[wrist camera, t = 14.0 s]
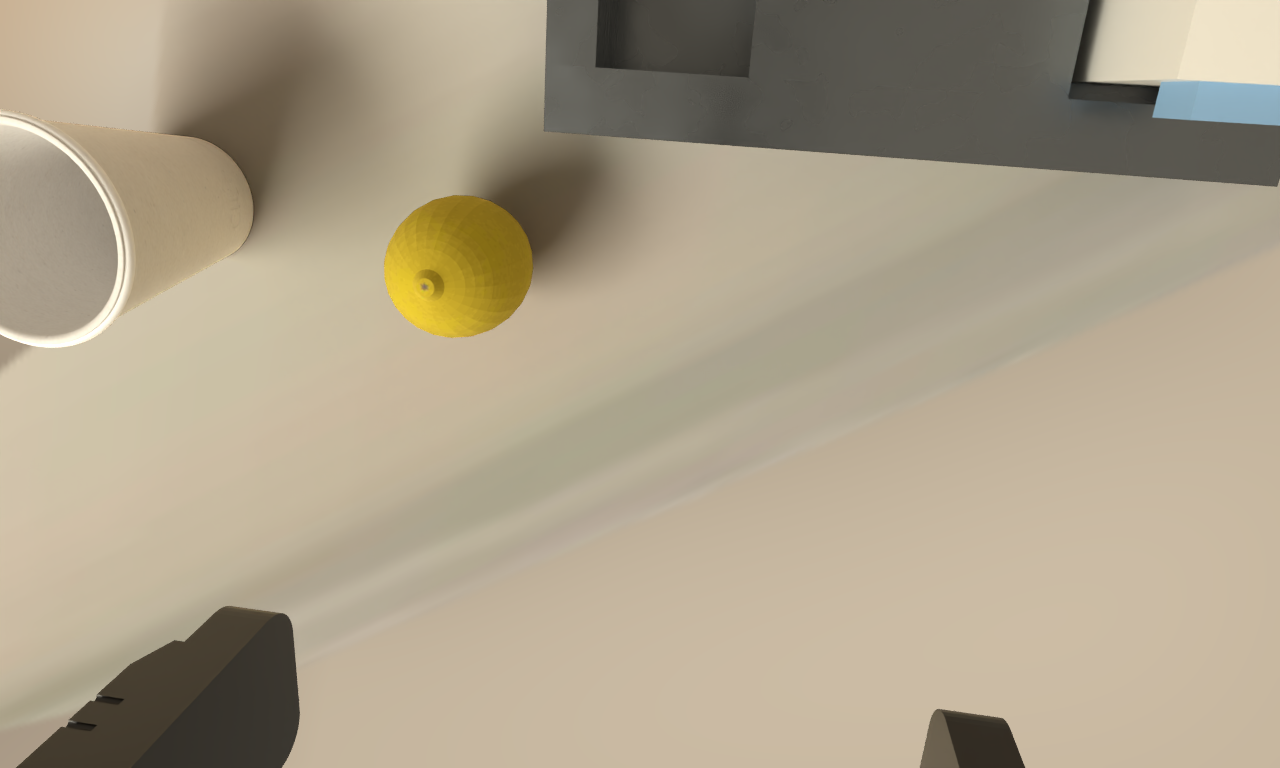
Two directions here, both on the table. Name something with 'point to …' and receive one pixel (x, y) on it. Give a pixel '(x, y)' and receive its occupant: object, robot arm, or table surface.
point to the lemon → (458, 266)
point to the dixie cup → (106, 222)
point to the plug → (1188, 56)
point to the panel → (876, 85)
